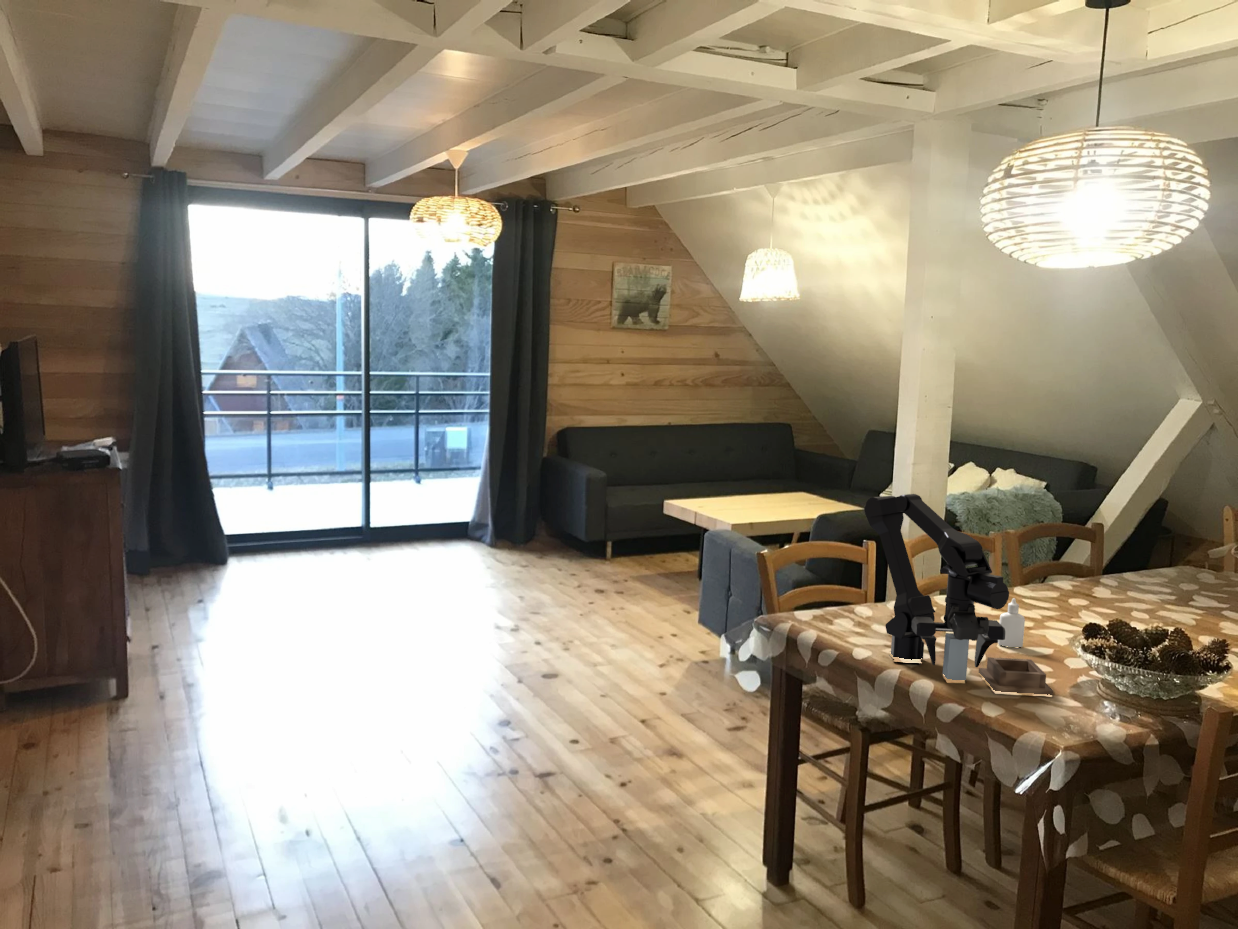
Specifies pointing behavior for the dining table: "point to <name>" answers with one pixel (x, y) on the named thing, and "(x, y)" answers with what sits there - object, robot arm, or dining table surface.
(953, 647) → the slate peg
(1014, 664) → the walnut holder
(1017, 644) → the eye dropper bottle
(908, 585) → the robot arm
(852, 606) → the dining table surface
